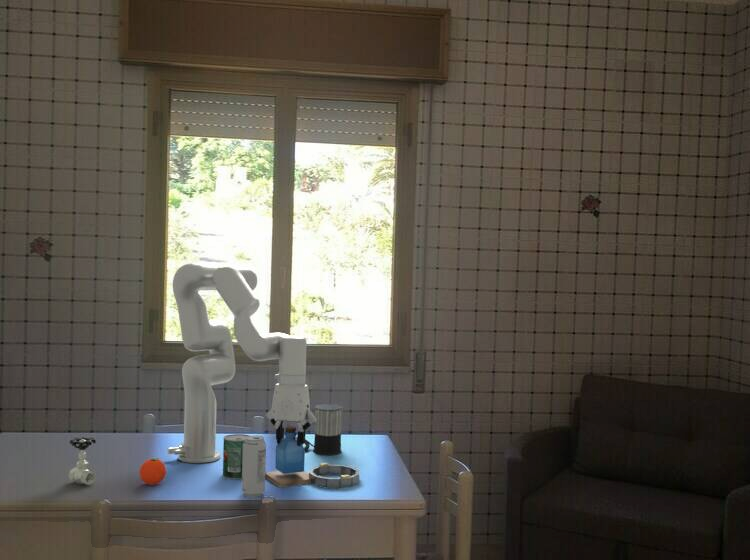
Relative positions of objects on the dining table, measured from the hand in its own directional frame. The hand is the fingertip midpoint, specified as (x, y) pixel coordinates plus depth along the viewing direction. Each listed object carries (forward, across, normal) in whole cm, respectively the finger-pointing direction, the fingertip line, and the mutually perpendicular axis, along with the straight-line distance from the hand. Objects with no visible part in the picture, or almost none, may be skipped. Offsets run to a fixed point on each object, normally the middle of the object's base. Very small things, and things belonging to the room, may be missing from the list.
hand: (290, 443), depth 210 cm
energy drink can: (+11, -3, -16) cm, 19 cm away
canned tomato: (+11, -15, -3) cm, 19 cm away
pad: (+10, 0, 0) cm, 10 cm away
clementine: (+11, -32, -19) cm, 38 cm away
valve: (+11, -49, -27) cm, 57 cm away
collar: (+10, +12, +5) cm, 16 cm away
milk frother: (+11, -6, +32) cm, 34 cm away
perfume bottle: (+8, 0, 0) cm, 8 cm away
